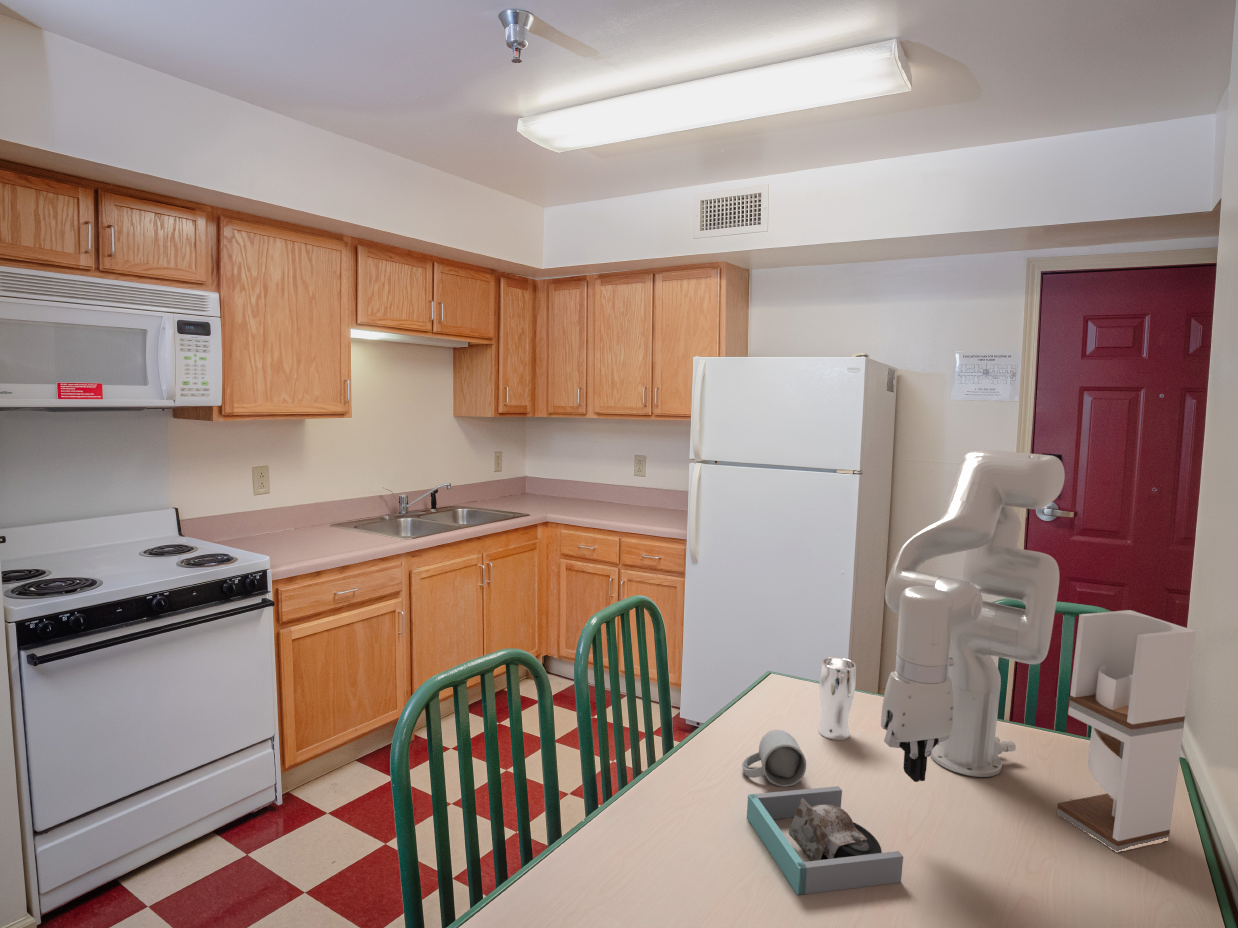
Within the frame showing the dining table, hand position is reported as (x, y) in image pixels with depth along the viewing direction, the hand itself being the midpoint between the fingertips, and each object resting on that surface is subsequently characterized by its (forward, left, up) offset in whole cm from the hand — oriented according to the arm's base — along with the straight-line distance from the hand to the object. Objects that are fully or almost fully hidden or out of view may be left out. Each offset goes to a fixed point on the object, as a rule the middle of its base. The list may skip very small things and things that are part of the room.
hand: (914, 776), depth 116 cm
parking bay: (+16, +1, -10) cm, 19 cm away
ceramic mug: (+15, -20, -10) cm, 27 cm away
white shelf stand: (-35, +4, -10) cm, 37 cm away
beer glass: (-5, -33, -10) cm, 35 cm away
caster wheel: (+14, +3, -10) cm, 17 cm away
